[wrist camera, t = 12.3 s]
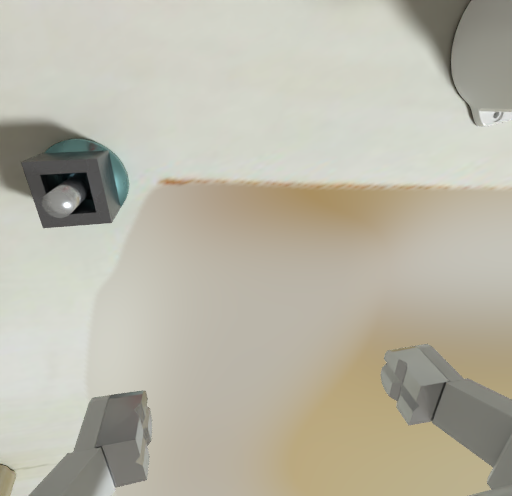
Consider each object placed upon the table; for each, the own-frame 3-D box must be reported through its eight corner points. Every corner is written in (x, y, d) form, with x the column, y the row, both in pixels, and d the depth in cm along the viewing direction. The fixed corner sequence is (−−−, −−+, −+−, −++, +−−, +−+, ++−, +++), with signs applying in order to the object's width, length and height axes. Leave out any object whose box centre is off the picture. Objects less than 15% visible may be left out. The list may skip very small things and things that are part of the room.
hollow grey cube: (108, 150, 34) (96, 158, 29) (120, 207, 37) (111, 222, 32) (43, 153, 33) (21, 162, 28) (60, 211, 36) (43, 228, 31)
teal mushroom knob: (120, 137, 34) (100, 149, 26) (135, 215, 38) (121, 246, 30) (29, 139, 33) (-21, 154, 25) (54, 220, 37) (18, 255, 29)
